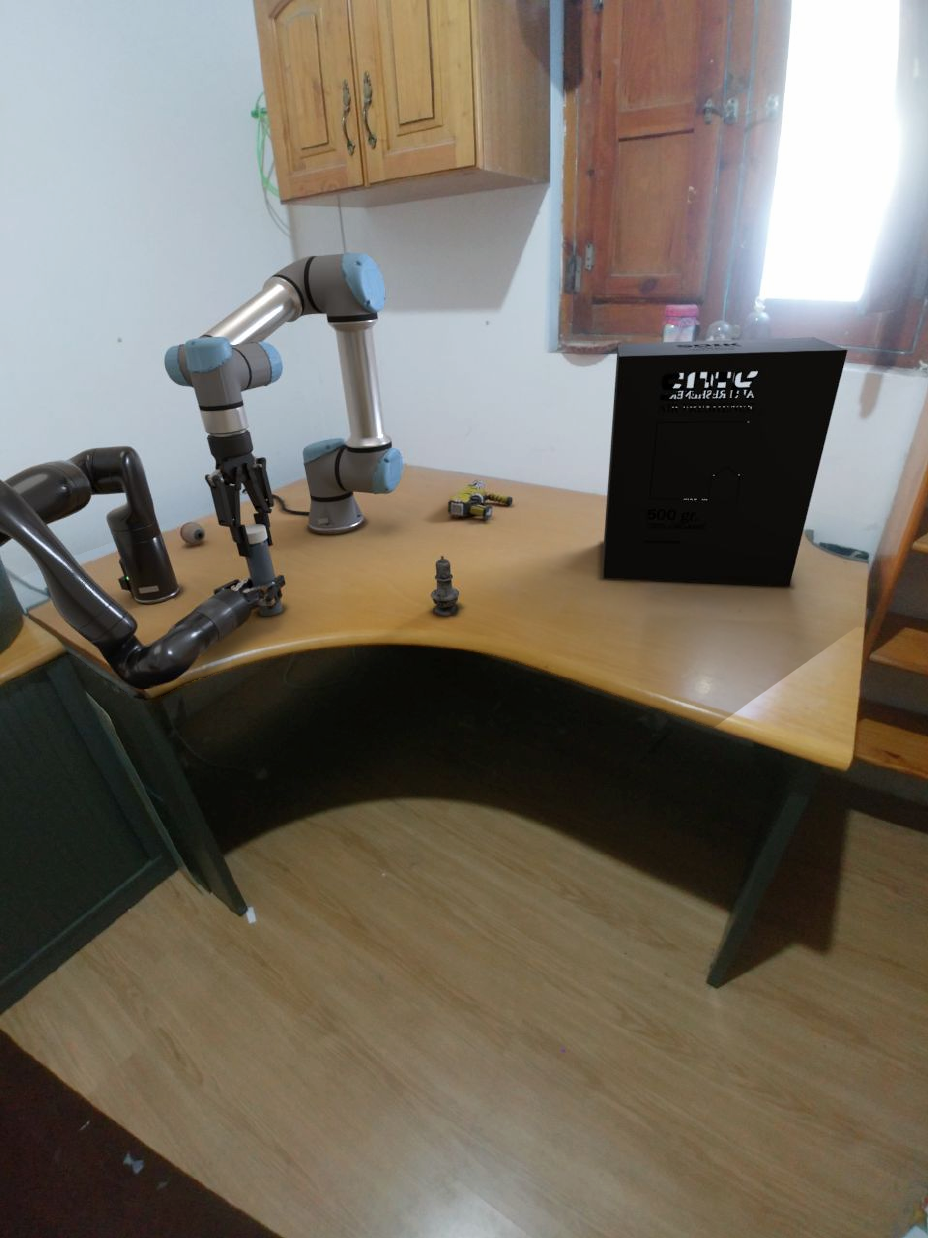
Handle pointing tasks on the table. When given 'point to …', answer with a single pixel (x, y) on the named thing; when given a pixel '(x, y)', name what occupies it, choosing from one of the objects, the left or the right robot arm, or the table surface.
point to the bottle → (262, 573)
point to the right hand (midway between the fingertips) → (256, 550)
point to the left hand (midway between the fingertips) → (271, 577)
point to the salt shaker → (444, 590)
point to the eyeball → (192, 533)
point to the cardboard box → (716, 458)
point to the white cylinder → (256, 533)
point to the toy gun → (475, 501)
